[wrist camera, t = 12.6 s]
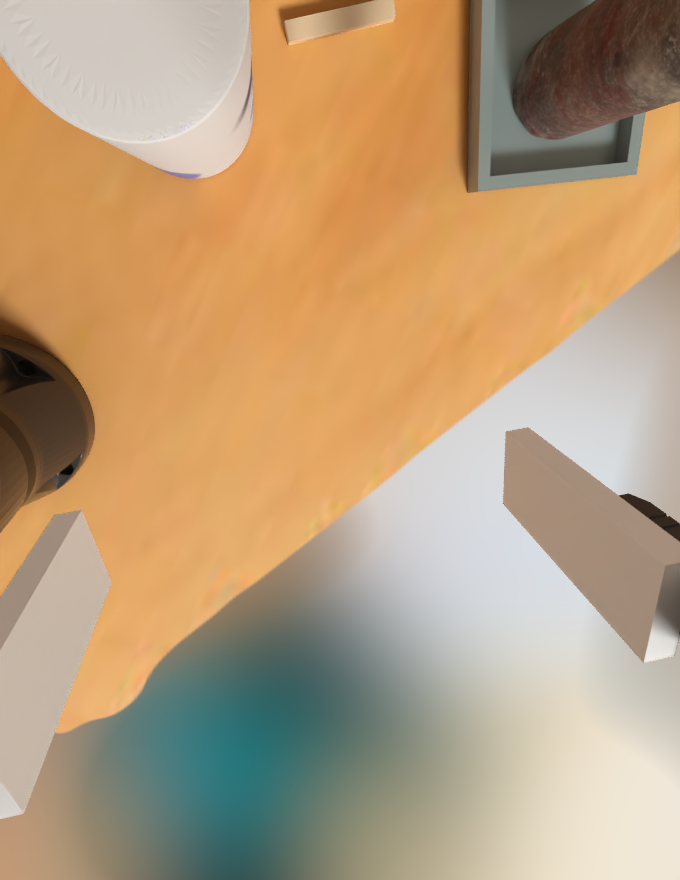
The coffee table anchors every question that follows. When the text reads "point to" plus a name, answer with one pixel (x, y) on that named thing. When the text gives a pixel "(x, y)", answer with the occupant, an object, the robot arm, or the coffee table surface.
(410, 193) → the coffee table surface
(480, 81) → the dish
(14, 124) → the coffee table surface
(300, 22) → the beige wooden bar
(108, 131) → the container
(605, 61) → the dark brown cylinder
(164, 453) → the coffee table surface
